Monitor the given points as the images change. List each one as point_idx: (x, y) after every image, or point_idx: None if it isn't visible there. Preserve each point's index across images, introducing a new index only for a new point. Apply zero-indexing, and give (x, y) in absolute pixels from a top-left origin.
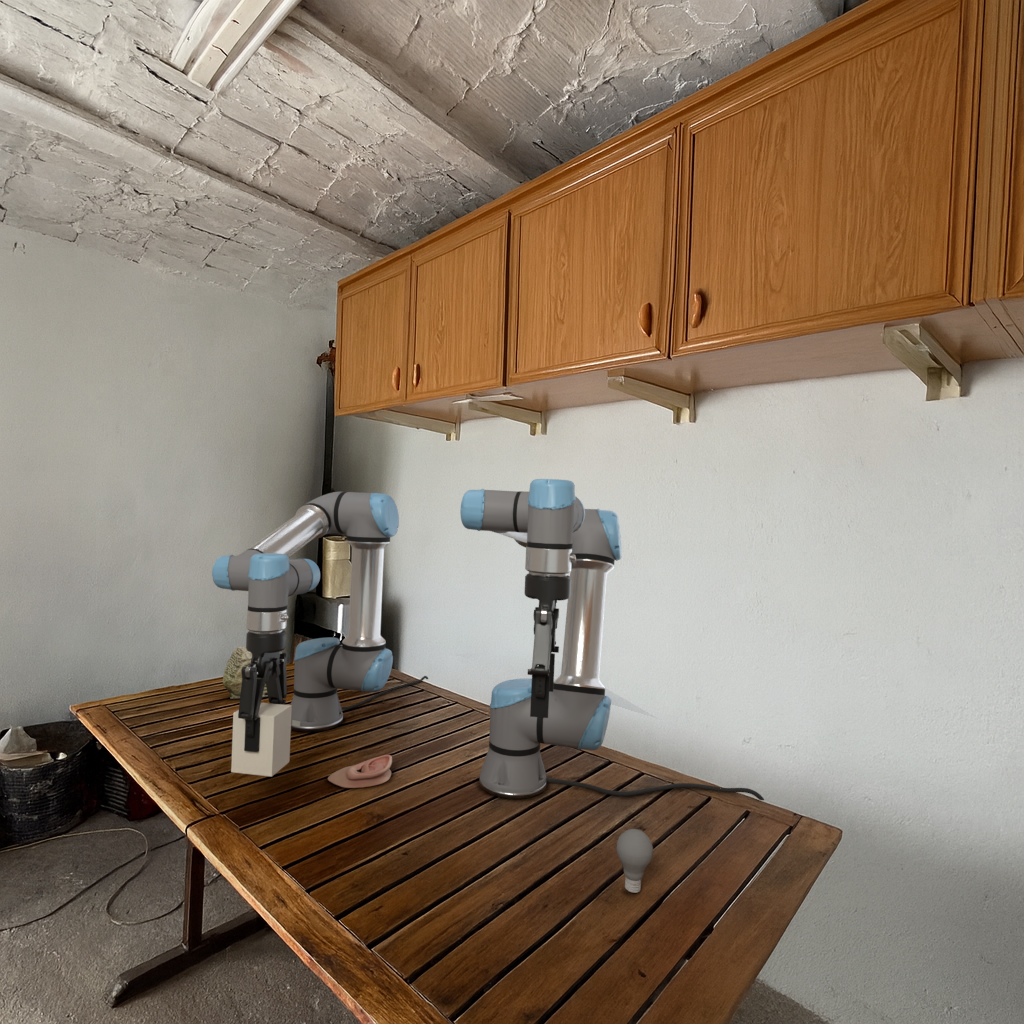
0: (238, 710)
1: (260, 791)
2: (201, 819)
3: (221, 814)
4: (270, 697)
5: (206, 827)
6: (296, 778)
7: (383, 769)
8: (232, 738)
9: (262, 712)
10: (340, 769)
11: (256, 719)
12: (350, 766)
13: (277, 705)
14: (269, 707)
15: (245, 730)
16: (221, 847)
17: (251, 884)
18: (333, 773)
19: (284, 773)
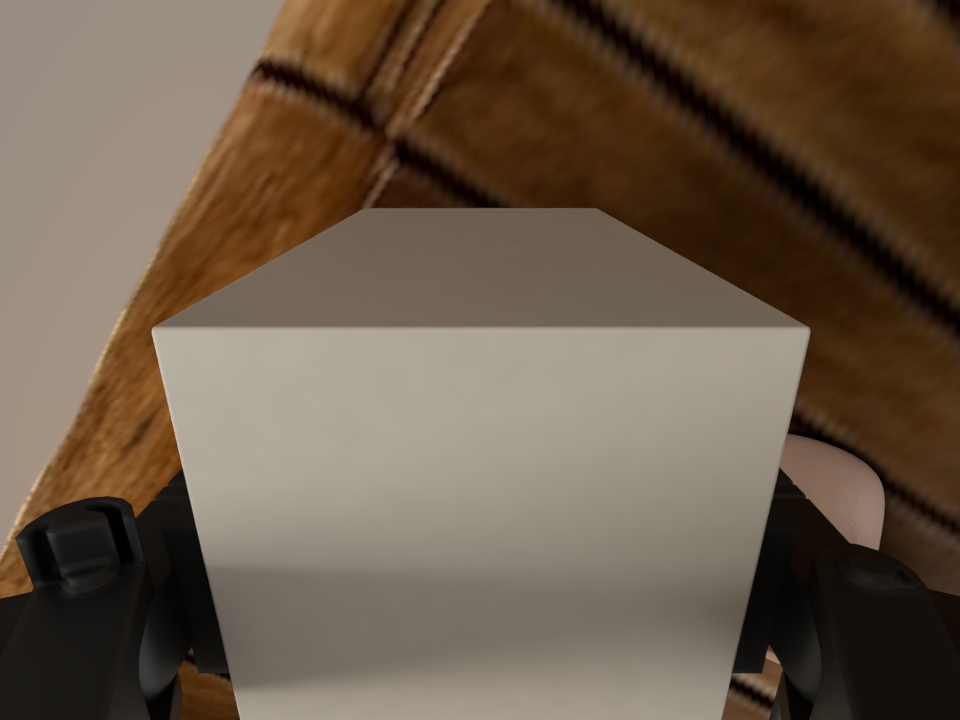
0: (285, 346)
1: (624, 207)
2: (322, 90)
3: (387, 155)
4: (824, 665)
5: (272, 158)
6: (771, 301)
7: (767, 656)
8: (298, 246)
9: (343, 676)
10: (827, 470)
11: (195, 648)
12: (830, 517)
13: (662, 711)
14: (561, 665)
15: (165, 491)
16: (176, 303)
17: (56, 492)
18: (787, 457)
19: (826, 221)
